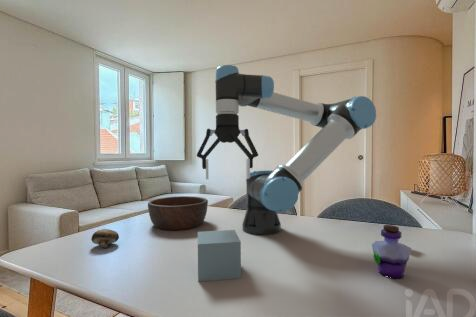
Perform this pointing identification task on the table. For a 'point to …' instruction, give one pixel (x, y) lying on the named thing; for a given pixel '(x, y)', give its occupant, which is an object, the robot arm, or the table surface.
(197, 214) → the wooden bowl
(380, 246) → the potion bottle
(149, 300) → the table surface
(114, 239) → the mushroom
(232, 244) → the smooth grey cuboid
